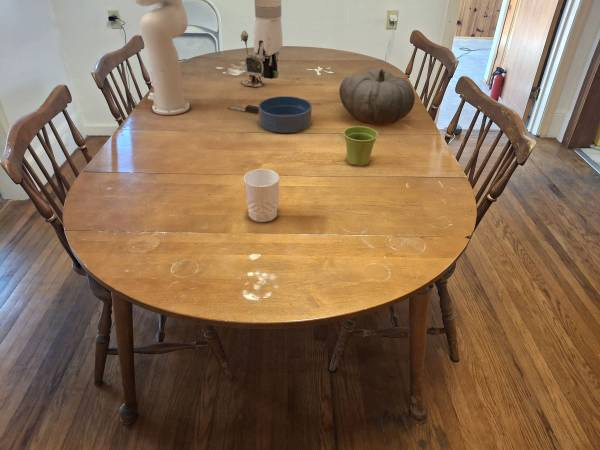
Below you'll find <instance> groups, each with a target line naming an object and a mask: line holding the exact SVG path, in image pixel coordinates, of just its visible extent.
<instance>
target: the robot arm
mask: <svg viewBox="0 0 600 450" xmlns="http://www.w3.org/2000/svg"><path fill="white" fill-rule="evenodd" d="M133 1H134V2H135V4H138V6H140V7H150V6H153V5H155V6H156V8H154V9H152V10H149V11H147V12H146V13H145V14H144V15H142V17H141V19H140V22H139V31H140V34H141V37H142V39H143V40H142V41H143V42H144V45H145V49H146V53H147V58H148V63H149V70H150V75H151V81H152V87H153V92H149V94H148V96H147V100H148V101H152V102H153V104H152V106H151V107H152V108H151V109H152V111H153V112H154V113H156V114H158V115H160V116H161V115H162V116H175V115H180V114H183V113H185V112H187V111H189V110H190V108H191V106H190V102H189V101H187V100H186V99H185V95H184V94H185V93H184V86H183V79H182V72H181V64H180V58H179V53H178V49H177V48H176V46H175V44H174V41H173V39H175V38H177V37H179V36H182V35H183V34H184V33H186V31H187V29H188V25H189V20H188V19H189V18H188V16H187V12H186V9H185V6H184V3H183V0H133ZM253 1H254V17H255V19H254V25H253V26H254V27H253V53H254V55H256V56H258V59H259V61H261V65H262V71H263V74H264V77H263V78H264V79H269V80H273V79H275V78H274V72H273V71H278V61H279V54H280V52H281V50H282V48H283V28H282V26H283V25H282V18H283V17H282V0H253Z"/></svg>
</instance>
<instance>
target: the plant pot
mask: <svg viewBox="0 0 600 450" xmlns="http://www.w3.org/2000/svg"><path fill="white" fill-rule="evenodd" d="M342 134H343V136H344V139H345V144H346V145H345V146H346V159H347V160H346V161H347V162H348V164H350V165H351V166H358V167H363V166H366V165H368V164H369V162H370V160H371V156H372V151H373V147H374V144H375V143H376V141H377V140H376V139H377V138H378V137H379V132H378V131H377V130H376V129H374V128H372V127H368V126H361V125H358V126H357V125H356V126H355V125H354V126H350V127H347V128H345V129H344V130H343V133H342Z"/></svg>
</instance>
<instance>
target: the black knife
mask: <svg viewBox="0 0 600 450" xmlns="http://www.w3.org/2000/svg"><path fill="white" fill-rule="evenodd" d="M229 109H230V110H235V111H241V112H245V113H246V112H247V113H251V114H258V115H259V111H258V105H257V106H256V105H252V104H251V105H250V104H248V105H246V106H244V107H243V106H242V107H240V106H236V105H231V106H230V107H229Z"/></svg>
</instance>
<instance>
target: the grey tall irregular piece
mask: <svg viewBox="0 0 600 450" xmlns="http://www.w3.org/2000/svg"><path fill="white" fill-rule="evenodd" d="M240 38H241V39H240V41H241V42H242V41H243V42H244V45H245V48H246V53H247V56H246V58H245V65H246V72H254V73H261V72H262V71H263V65H262V61H259V59H258V58H259V56H258V55H256V54H249V51H248V43H247V42H248V38H249V34H248V32H247V31H246V30H243V31H242V32H241V35H240ZM240 83H241V84H242V85H244V86H248V87H254V88H259V87H263V86H265V84H266V83H265V82H263V80H262V77H259V76H252V75H248V77H246V78H245V79H242V80H241V81H240Z"/></svg>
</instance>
